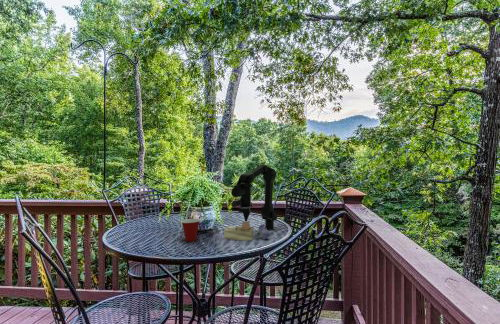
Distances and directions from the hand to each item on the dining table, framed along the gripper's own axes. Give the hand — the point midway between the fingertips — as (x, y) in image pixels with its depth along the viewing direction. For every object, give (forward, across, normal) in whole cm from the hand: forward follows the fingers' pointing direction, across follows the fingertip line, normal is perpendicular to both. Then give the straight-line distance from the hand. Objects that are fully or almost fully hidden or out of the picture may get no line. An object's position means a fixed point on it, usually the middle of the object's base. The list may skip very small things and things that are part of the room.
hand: (245, 221), depth 186 cm
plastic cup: (+10, +10, -31) cm, 34 cm away
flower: (+10, +2, +10) cm, 15 cm away
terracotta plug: (+6, 0, 0) cm, 6 cm away
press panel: (+10, 0, -4) cm, 10 cm away
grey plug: (+9, 0, -8) cm, 12 cm away
